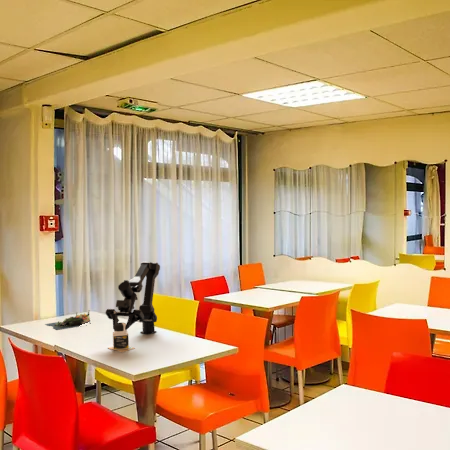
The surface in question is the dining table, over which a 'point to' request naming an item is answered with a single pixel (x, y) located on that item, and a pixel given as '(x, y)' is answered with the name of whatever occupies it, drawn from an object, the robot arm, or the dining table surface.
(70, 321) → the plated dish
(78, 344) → the dining table surface
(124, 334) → the medicine bottle
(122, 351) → the envelope
